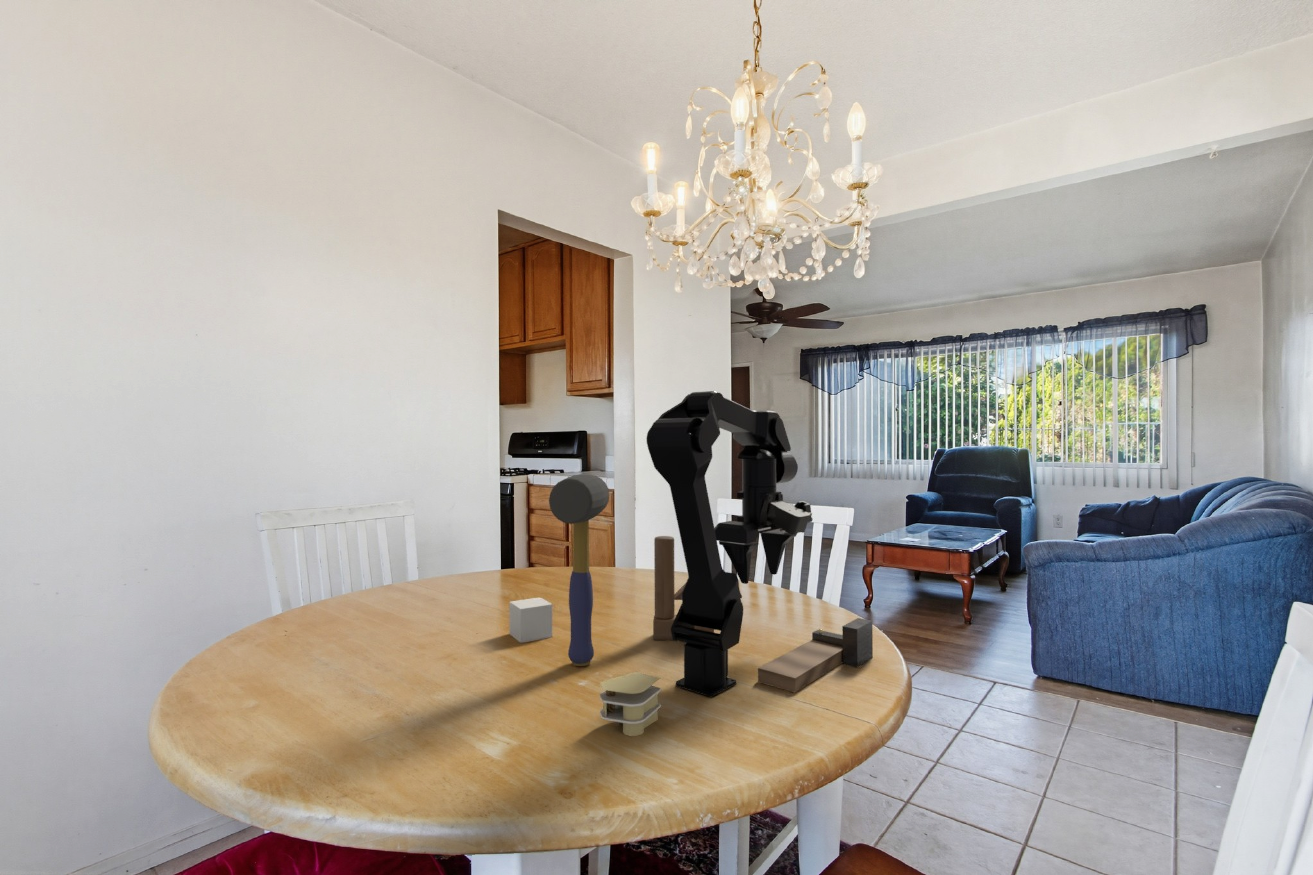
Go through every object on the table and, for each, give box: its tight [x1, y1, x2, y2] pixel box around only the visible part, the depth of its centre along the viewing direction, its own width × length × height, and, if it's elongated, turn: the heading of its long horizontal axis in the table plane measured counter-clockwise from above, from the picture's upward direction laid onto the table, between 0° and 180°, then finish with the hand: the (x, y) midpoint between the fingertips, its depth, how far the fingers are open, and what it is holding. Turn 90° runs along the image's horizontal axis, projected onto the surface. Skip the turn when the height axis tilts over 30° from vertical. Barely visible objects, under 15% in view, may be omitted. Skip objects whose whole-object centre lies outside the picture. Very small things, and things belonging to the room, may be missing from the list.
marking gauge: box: [811, 617, 874, 669], centre depth 100 cm, size 6×9×6 cm
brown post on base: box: [652, 535, 715, 641], centre depth 110 cm, size 4×11×18 cm, turn 88°
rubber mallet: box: [548, 473, 611, 667], centre depth 96 cm, size 12×8×30 cm, turn 171°
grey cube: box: [508, 597, 553, 644], centre depth 111 cm, size 6×6×6 cm
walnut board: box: [757, 639, 843, 693], centre depth 95 cm, size 22×6×2 cm, turn 139°
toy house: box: [599, 671, 662, 737], centre depth 76 cm, size 10×9×6 cm
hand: (759, 578), depth 103 cm, fingers open, 9 cm apart
